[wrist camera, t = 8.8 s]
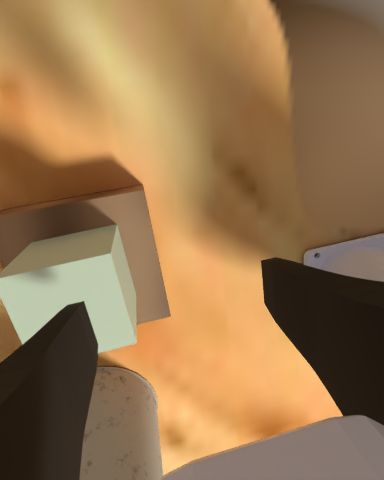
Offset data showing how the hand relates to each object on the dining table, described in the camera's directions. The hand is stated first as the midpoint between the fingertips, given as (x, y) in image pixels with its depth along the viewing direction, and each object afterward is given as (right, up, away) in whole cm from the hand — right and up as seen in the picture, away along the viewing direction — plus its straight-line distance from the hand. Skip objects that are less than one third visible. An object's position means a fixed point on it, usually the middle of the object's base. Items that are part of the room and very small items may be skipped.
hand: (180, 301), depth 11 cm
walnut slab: (-7, +1, +9) cm, 11 cm away
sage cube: (-6, +1, +7) cm, 9 cm away
